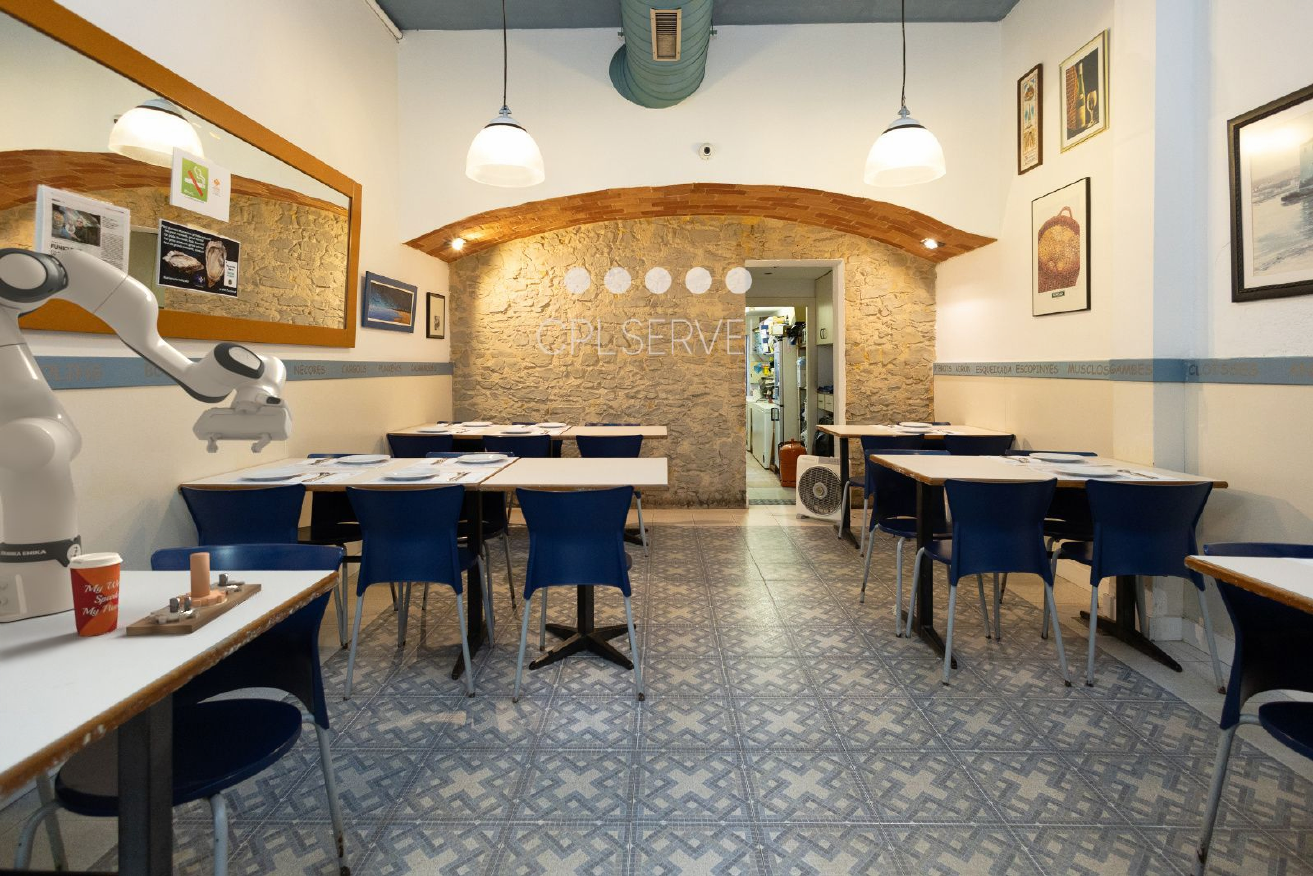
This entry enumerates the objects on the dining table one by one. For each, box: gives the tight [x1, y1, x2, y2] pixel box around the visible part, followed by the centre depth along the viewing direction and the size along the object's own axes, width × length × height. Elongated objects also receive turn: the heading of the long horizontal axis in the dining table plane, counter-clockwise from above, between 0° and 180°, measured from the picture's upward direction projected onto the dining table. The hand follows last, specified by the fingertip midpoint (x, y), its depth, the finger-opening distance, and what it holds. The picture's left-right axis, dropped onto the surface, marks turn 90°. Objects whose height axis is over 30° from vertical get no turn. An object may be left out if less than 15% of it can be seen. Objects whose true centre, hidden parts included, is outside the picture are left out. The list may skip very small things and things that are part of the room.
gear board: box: [125, 583, 262, 636], centre depth 133 cm, size 11×28×2 cm, turn 8°
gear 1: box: [148, 596, 200, 624], centre depth 124 cm, size 8×8×4 cm
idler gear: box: [176, 552, 226, 608], centre depth 132 cm, size 8×8×10 cm
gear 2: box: [210, 573, 246, 595], centre depth 141 cm, size 8×8×4 cm
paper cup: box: [67, 551, 123, 637], centre depth 120 cm, size 8×8×14 cm
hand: (233, 451), depth 149 cm, fingers open, 8 cm apart
